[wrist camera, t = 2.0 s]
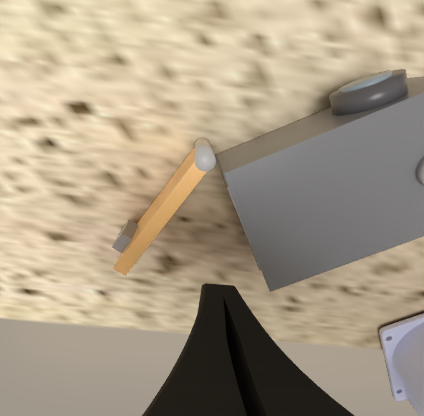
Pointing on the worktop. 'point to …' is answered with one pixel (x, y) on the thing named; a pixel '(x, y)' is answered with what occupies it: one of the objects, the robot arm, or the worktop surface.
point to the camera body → (333, 180)
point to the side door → (163, 206)
